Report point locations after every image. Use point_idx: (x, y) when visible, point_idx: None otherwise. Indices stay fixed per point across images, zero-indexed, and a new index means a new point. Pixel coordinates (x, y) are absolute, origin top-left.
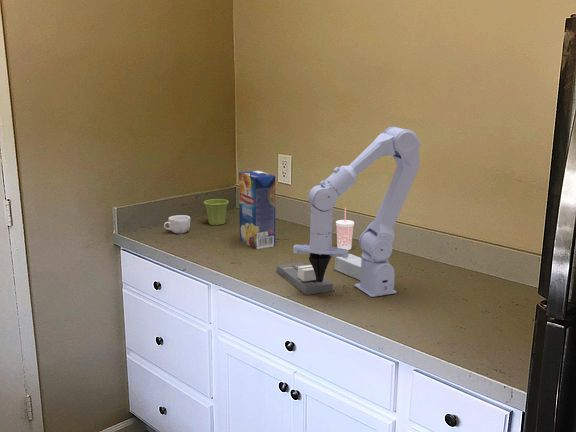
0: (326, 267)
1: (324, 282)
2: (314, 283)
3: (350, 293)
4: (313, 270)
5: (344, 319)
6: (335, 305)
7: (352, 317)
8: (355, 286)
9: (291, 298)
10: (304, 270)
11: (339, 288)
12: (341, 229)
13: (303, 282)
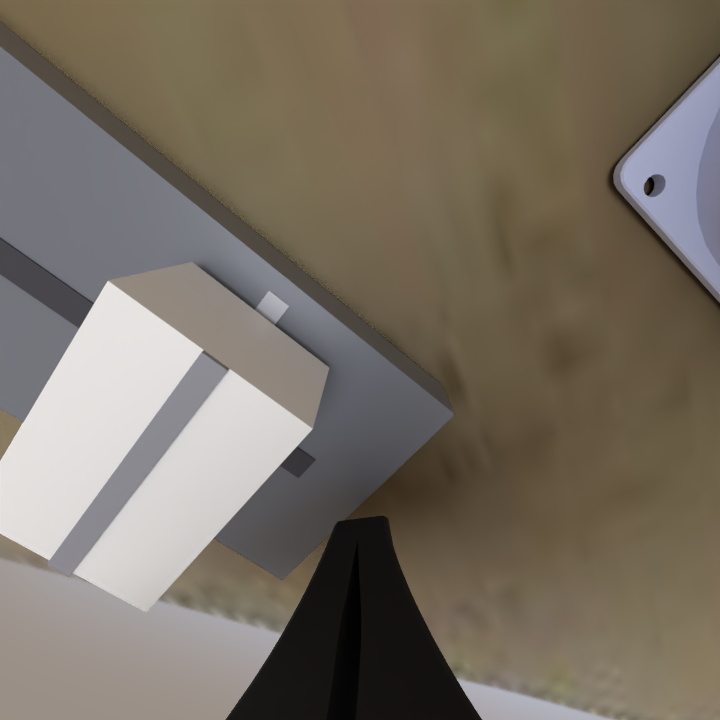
0: (432, 638)
1: (367, 417)
2: (297, 480)
3: (602, 372)
4: (221, 528)
5: (633, 713)
6: (542, 597)
7: (673, 685)
8: (632, 205)
9: (246, 608)
10: (140, 597)
11: (480, 305)
12: None
13: None
